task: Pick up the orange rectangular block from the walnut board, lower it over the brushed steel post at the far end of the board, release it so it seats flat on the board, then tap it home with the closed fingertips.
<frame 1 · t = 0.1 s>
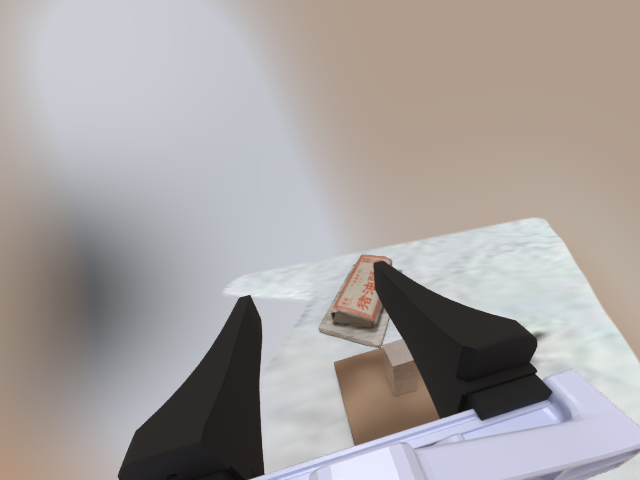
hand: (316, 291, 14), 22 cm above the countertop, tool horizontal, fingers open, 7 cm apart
board: (424, 437, 24), on the countertop
packaged product: (365, 302, 43), on the countertop
post: (400, 382, 28), resting on board
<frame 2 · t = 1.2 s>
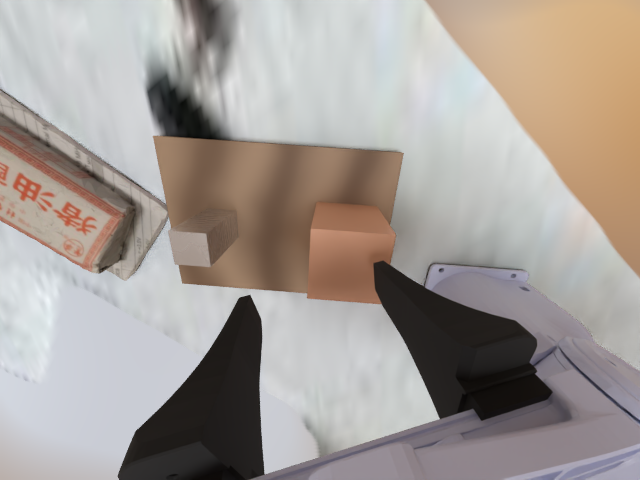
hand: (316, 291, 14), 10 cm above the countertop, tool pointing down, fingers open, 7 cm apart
board: (280, 222, 23), on the countertop
packaged product: (71, 186, 23), on the countertop
orange rectangular block: (343, 231, 22), point 1 cm above the countertop, touching board
post: (223, 223, 22), resting on board
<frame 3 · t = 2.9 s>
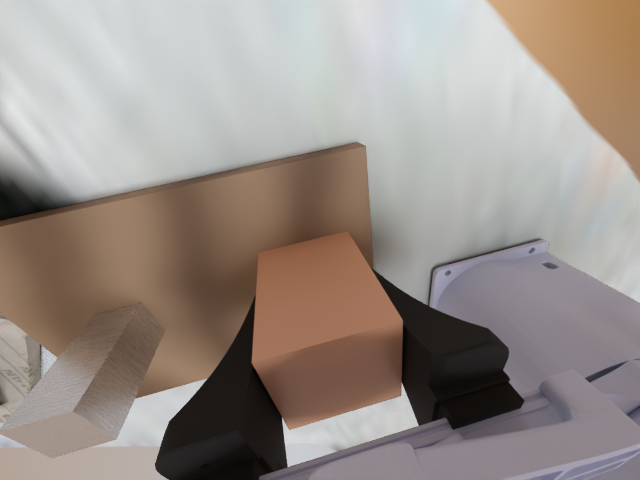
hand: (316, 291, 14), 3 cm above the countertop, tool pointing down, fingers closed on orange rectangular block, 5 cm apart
board: (219, 287, 15), on the countertop
orange rectangular block: (312, 276, 15), point 1 cm above the countertop, touching board, gripper
post: (131, 322, 14), resting on board
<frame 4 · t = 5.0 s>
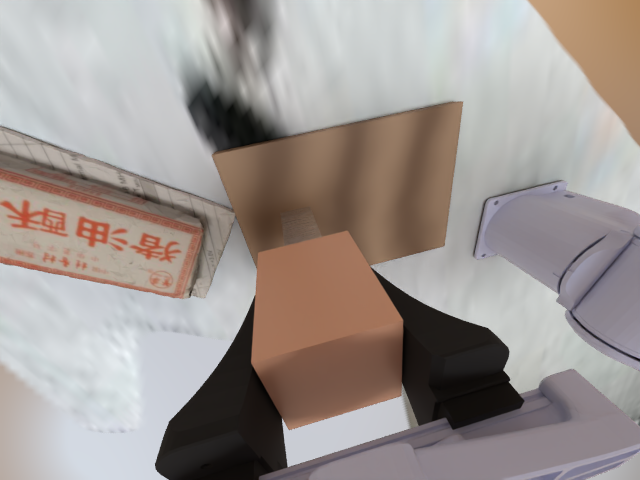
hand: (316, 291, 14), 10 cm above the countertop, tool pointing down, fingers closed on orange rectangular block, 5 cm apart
board: (347, 204, 23), on the countertop
packaged product: (114, 219, 20), on the countertop
orange rectangular block: (312, 276, 15), point 9 cm above the countertop, touching gripper
post: (298, 222, 21), resting on board
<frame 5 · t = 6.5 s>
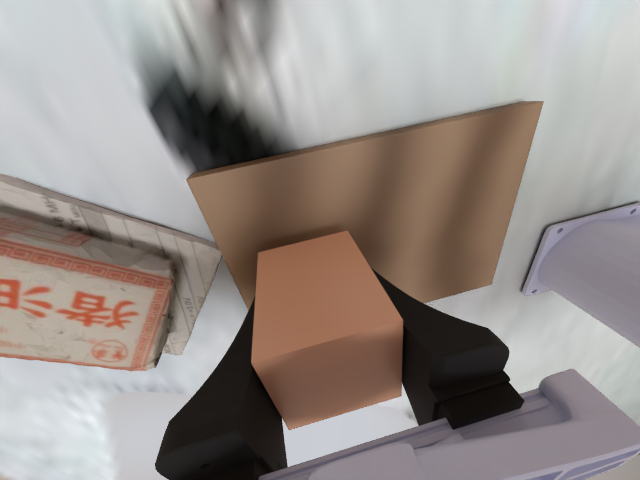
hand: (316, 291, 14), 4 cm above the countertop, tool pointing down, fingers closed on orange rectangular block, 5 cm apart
board: (373, 237, 17), on the countertop
packaged product: (52, 256, 14), on the countertop
orange rectangular block: (312, 276, 15), point 3 cm above the countertop, touching gripper
when the fingers open (4 cm above the countertop, at t = 7.1 s): orange rectangular block drops 1 cm, resting on board.
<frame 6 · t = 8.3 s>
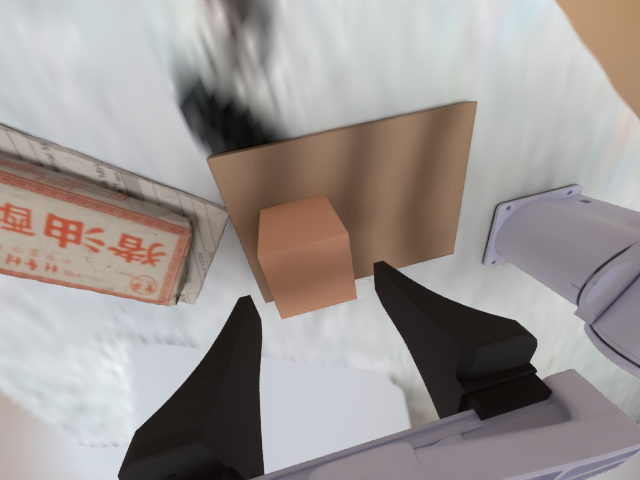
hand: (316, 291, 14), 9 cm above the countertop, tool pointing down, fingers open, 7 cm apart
board: (352, 211, 22), on the countertop
packaged product: (94, 217, 18), on the countertop
orange rectangular block: (299, 230, 20), point 1 cm above the countertop, touching board
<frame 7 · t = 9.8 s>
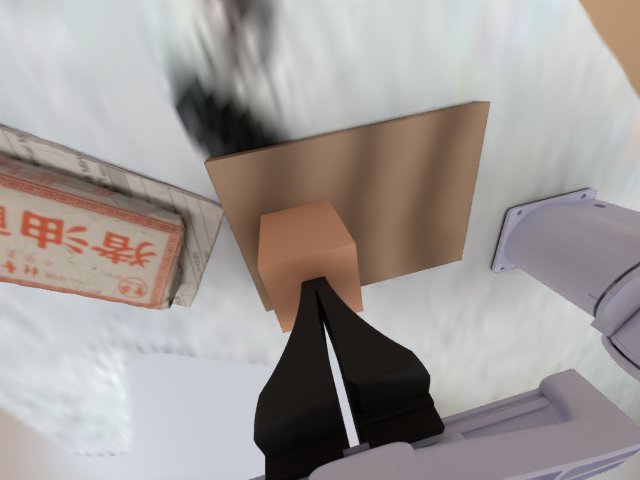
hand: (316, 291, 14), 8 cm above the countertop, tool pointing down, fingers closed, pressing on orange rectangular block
board: (356, 216, 21), on the countertop
packaged product: (81, 215, 17), on the countertop
orange rectangular block: (302, 236, 19), point 1 cm above the countertop, touching board, gripper
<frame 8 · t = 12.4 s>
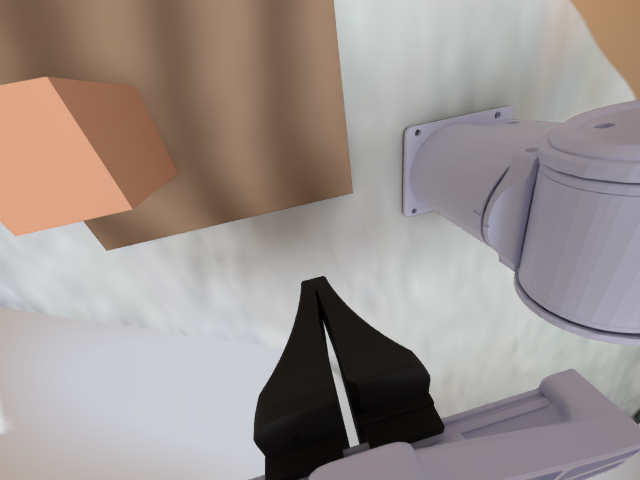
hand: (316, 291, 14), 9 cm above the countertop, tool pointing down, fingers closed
board: (200, 125, 17), on the countertop
orange rectangular block: (117, 142, 15), point 1 cm above the countertop, touching board
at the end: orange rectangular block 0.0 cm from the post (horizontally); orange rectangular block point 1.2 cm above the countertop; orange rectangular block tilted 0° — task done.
